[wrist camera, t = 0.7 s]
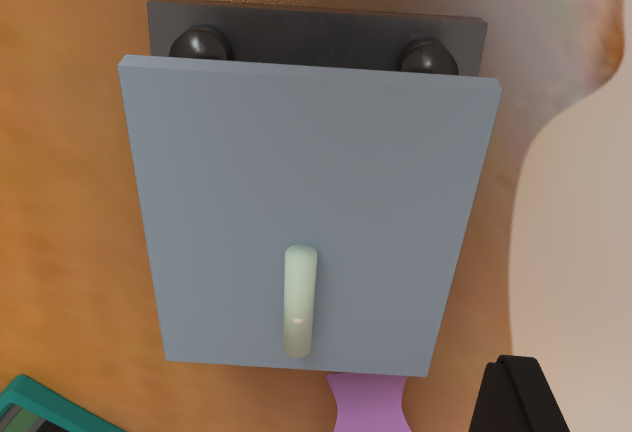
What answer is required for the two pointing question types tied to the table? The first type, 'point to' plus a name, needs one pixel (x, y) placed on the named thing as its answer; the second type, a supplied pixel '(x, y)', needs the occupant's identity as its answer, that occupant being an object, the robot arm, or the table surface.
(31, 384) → the digital multimeter
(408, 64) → the leveling stand
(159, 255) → the plate
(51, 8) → the table surface
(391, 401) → the toy chair
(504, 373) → the robot arm
